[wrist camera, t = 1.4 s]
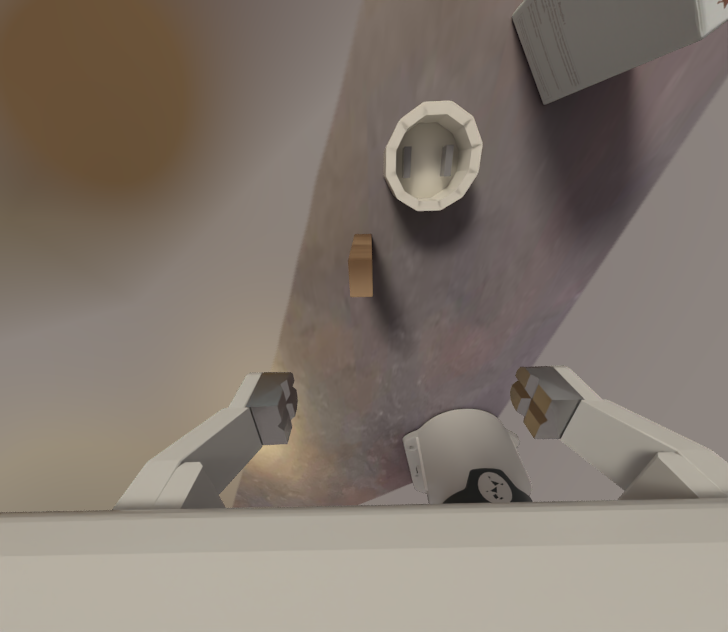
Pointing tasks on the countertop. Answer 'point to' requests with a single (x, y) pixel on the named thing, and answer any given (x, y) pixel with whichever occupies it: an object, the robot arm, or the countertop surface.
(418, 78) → the countertop surface
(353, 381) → the countertop surface
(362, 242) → the brown rectangular block
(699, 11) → the supplement box
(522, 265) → the countertop surface
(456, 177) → the faceted white cup
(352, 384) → the countertop surface
